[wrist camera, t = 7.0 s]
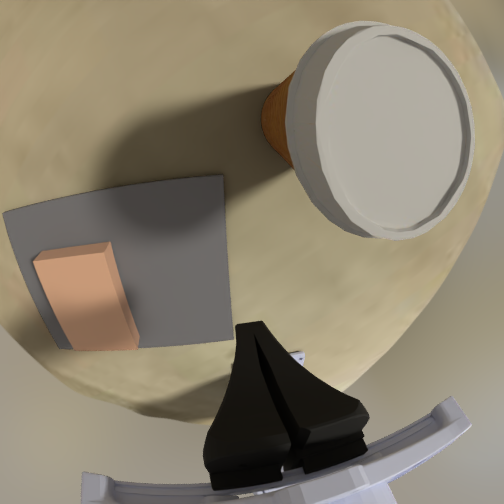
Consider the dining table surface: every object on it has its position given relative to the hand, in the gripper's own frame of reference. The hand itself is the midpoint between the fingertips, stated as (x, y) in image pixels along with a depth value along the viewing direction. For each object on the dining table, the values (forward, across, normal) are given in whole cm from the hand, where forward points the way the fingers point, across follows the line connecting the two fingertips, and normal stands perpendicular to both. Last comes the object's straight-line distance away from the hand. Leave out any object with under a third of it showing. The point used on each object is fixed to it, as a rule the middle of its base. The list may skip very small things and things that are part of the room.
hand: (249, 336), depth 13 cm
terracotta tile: (+8, +9, +3) cm, 13 cm away
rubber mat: (+10, +10, +2) cm, 14 cm away
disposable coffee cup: (+10, -6, -10) cm, 15 cm away
